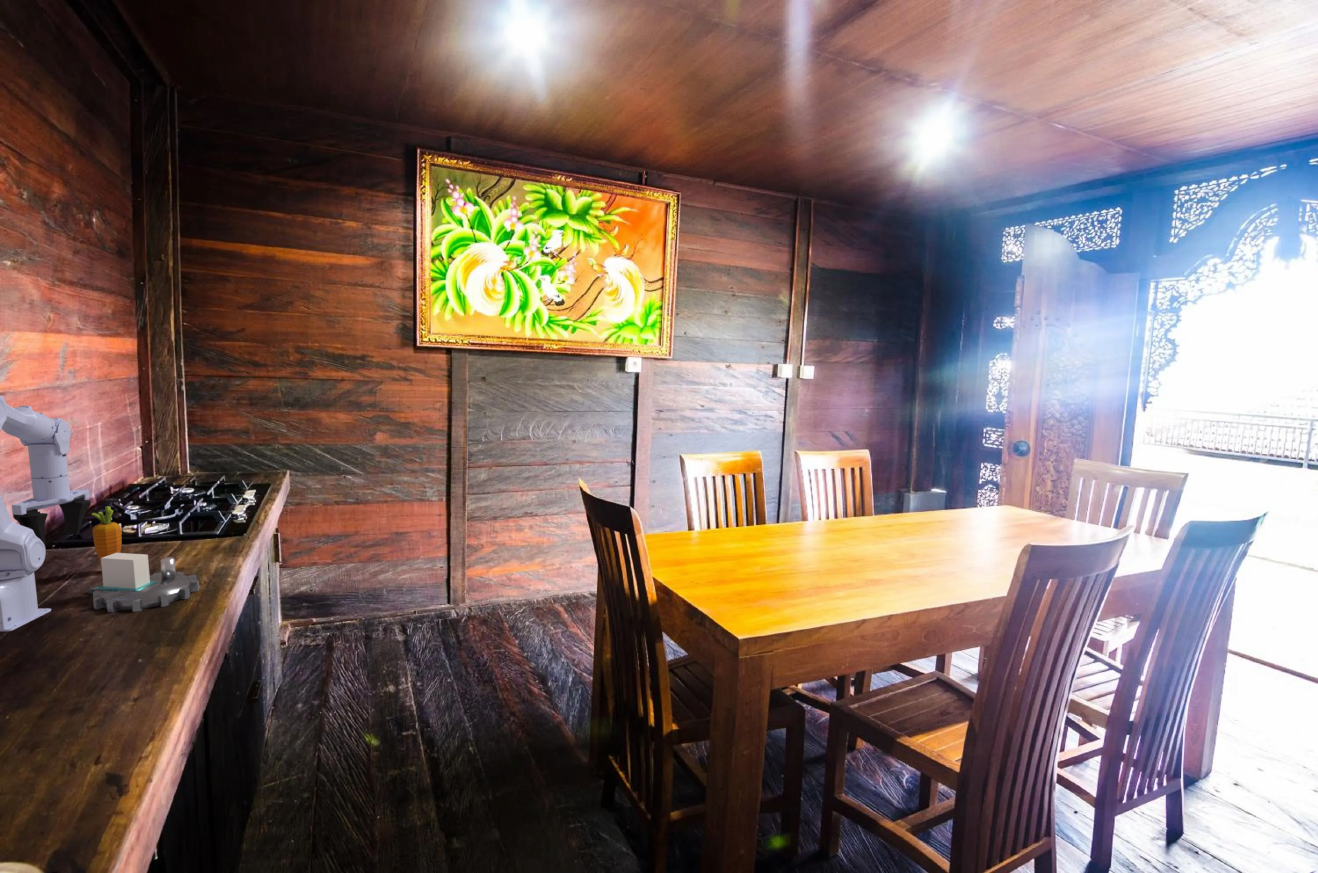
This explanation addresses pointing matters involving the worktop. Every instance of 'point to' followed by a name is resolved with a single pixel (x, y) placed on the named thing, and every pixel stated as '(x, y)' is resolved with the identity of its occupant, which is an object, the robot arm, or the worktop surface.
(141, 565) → the white rectangular block
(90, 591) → the timing pointer
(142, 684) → the worktop surface
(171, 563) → the sprocket
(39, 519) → the robot arm
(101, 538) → the carrot
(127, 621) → the worktop surface
